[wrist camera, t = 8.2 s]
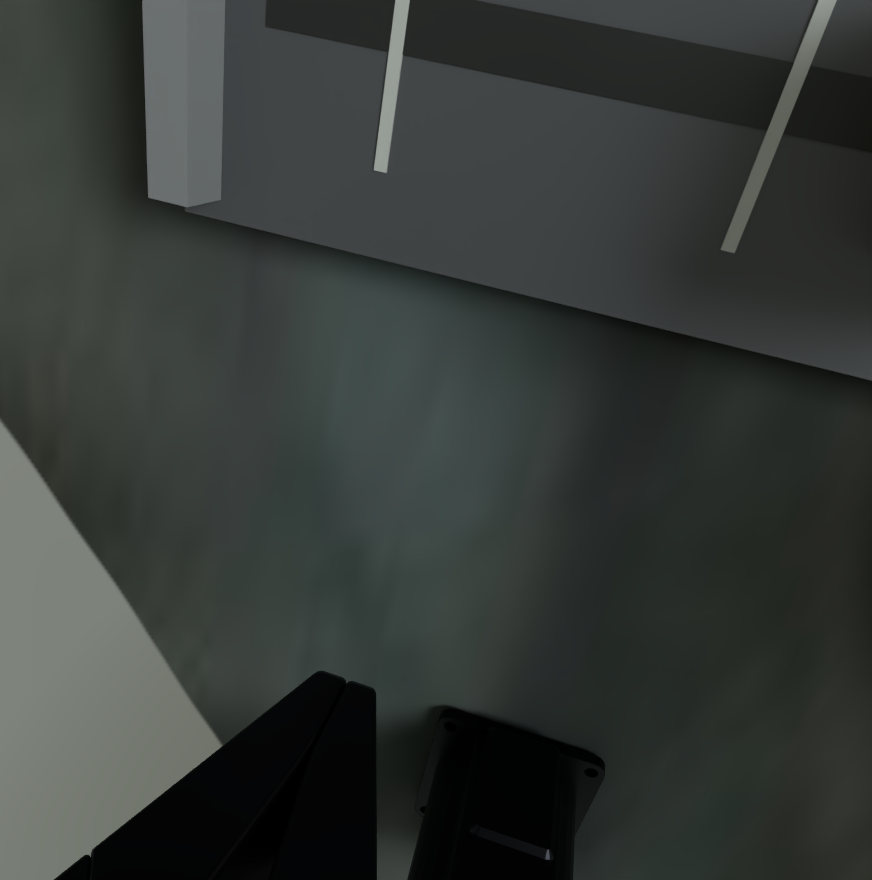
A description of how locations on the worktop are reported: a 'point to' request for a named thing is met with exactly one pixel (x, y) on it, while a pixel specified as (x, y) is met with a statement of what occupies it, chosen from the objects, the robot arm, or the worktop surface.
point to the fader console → (546, 150)
